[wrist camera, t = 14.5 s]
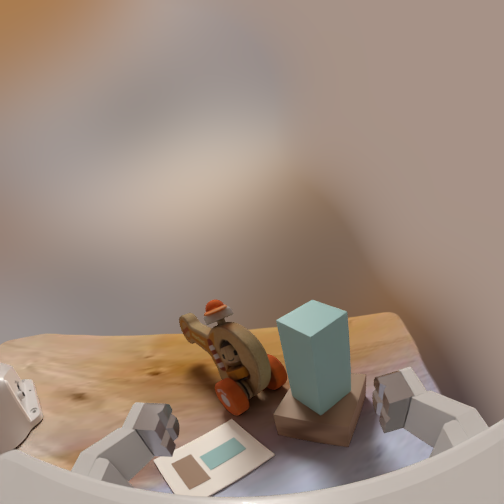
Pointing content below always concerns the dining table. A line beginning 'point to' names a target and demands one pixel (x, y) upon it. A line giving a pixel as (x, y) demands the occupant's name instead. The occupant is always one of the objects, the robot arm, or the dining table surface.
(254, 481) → the dining table surface
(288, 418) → the walnut base block
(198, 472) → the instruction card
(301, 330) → the teal tall block
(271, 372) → the toy helicopter
